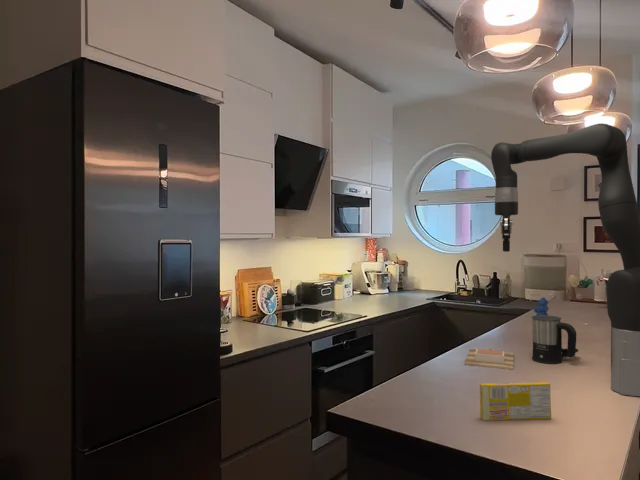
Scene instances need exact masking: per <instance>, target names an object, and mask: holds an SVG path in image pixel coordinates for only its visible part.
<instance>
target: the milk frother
mask: <svg viewBox="0 0 640 480" xmlns="http://www.w3.org/2000/svg"><path fill="white" fill-rule="evenodd" d="M531 319H532V320H531V321H532V322H531V323H532V357H531V359H532V360H533V361H535V362H537V363H542V364H561V363H562V362H563V361H562V359H563V358H566V357H568V358H569V359H570V358H574V357H575V355H576V354H577V353H578V352H579V349H578V348H576V346H577V331H576V328H575V327H574V326H573V325H571V324H570V323H566V322H561V320H562V317H559V316H555V315H548V316H547V315H536V314H535V315H532V316H531ZM563 330H564V331H565V332H566V333H567V345H566V346H567V348H563V346H562V343H563V342H562V336H563V335H562V334H563V333H562V331H563Z"/></svg>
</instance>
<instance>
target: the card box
mask: <svg viewBox="0 0 640 480" xmlns="http://www.w3.org/2000/svg"><path fill="white" fill-rule="evenodd" d="M475 350H476V352H475V361H484V362H495V363H504V352H505V351H504V350H496V349H485V348H476V349H475Z"/></svg>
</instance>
